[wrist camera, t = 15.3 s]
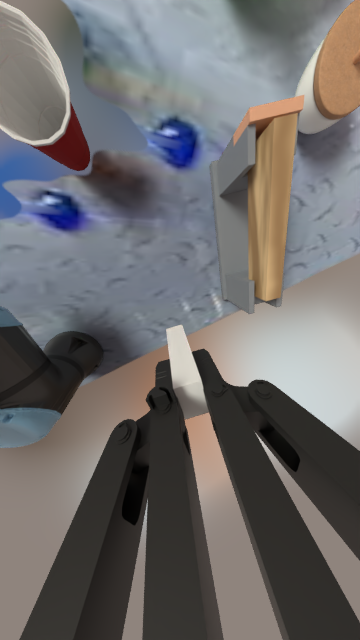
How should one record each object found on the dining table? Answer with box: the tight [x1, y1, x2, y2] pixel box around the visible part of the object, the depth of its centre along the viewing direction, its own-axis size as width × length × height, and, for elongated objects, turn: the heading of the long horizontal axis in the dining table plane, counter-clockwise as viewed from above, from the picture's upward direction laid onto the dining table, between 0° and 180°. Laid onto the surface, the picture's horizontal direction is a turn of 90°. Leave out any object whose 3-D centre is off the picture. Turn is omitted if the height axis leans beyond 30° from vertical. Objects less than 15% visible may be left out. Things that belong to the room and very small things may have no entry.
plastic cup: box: [0, 1, 90, 171], centre depth 21 cm, size 11×11×12 cm
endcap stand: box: [210, 95, 304, 314], centre depth 30 cm, size 9×30×14 cm, turn 13°
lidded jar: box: [294, 0, 360, 134], centre depth 24 cm, size 11×11×9 cm
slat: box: [248, 113, 298, 301], centre depth 25 cm, size 3×24×6 cm, turn 12°
